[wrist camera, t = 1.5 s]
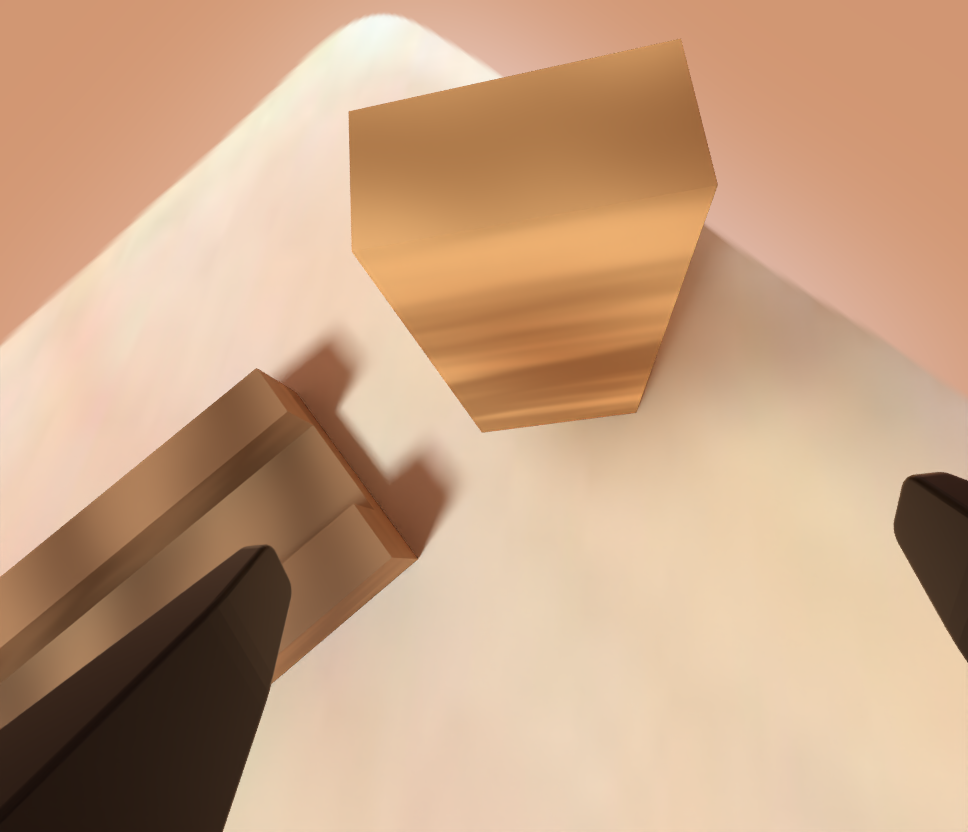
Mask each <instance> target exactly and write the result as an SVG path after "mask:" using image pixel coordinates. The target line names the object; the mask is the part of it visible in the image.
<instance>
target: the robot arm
mask: <svg viewBox="0 0 968 832" xmlns="http://www.w3.org/2000/svg"><path fill="white" fill-rule="evenodd" d="M894 533H895V536H896V539H897V541H898V544H899V545H900V547H901V549H902V551H903V552H904V554H905V556H906V558H907V560H908V561H909V563H910V565H911V567H912V569H913V570H914V572H915V574H916V576H917V577H918V579H919V581H920V583H921V585H922V586H923V588H924V590H925V592H926V593H927V595H928V597H929V599H930V601H931V602H932V604H933V606H934V608H935V610H936V611H937V613H938V615H939V617H940V618H941V620H942V622H943V624H944V626H945V627H946V629H947V631H948V632H949V634H950V636H951V637H952V639H953V641H954V642H955V644H956V646H957V647H958V649H959V650H960V652H961V653H962V655H963V656H964V658H965V659H966V661H967V662H968V481H967V480H965V479H962V478H959V477H957V476H954V475H951V474H948V473H944V472H935V473H925V474H916V475H911V476H909V477H907V478H906V479H905V481H904V482H903V485H902V488H901V493H900V497H899V501H898V506H897V510H896V515H895V519H894ZM291 595H292V588H291V583H290V580H289V578H288V576H287V574H286V572H285V569H284V567H283V565H282V563H281V561H280V559H279V557H278V555H277V553H276V551H275V549H274V548H273V547H272V546H270V545H267V544H262V545H253V546H246V547H243V548H241V549H239V550H238V551H237V552H235V553H234V554H233V555H231V556H230V557H229V558H227V559H226V560H225V561H223V562H222V563H221V564H219V565H218V566H217V567H215V568H214V569H213V570H211V571H210V572H209V573H207V574H206V575H205V576H203V577H202V578H201V579H199V580H198V581H197V582H195V583H194V584H193V585H191V586H190V587H189V588H187V589H186V590H185V591H183V592H182V593H181V594H179V595H178V596H177V597H175V598H174V599H173V600H171V601H170V602H169V603H167V604H166V605H165V606H163V607H162V608H161V609H159V610H158V611H157V612H155V613H154V614H153V615H151V616H150V617H149V618H147V619H146V620H145V621H143V622H142V623H141V624H139V625H138V626H137V627H135V628H134V629H133V630H131V631H130V632H129V633H127V634H126V635H125V636H123V637H122V638H121V639H119V640H118V641H117V642H115V643H114V644H113V645H111V646H110V647H109V648H107V649H106V650H105V651H103V652H102V653H101V654H99V655H98V656H97V657H95V658H94V659H93V660H91V661H90V662H89V663H88V664H86V665H85V666H84V667H82V668H81V669H80V670H78V671H77V672H76V673H74V674H73V675H72V676H70V677H69V678H68V679H66V680H65V681H64V682H62V683H61V684H60V685H58V686H57V687H56V688H54V689H53V690H52V691H50V692H49V693H48V694H46V695H45V696H44V697H42V698H41V699H40V700H38V701H37V702H36V703H34V704H33V705H32V706H30V707H29V708H28V709H26V710H25V711H24V712H22V713H21V714H20V715H18V716H17V717H16V718H14V719H13V720H12V721H10V722H9V723H8V724H6V725H5V726H4V727H2V728H1V729H0V832H223V829H224V826H225V824H226V821H227V818H228V815H229V812H230V809H231V806H232V803H233V800H234V797H235V794H236V791H237V788H238V785H239V782H240V779H241V776H242V773H243V770H244V767H245V764H246V761H247V758H248V755H249V752H250V749H251V746H252V743H253V740H254V737H255V734H256V731H257V728H258V725H259V722H260V719H261V716H262V713H263V710H264V707H265V704H266V701H267V697H268V694H269V691H270V687H271V683H272V679H273V675H274V671H275V667H276V662H277V658H278V653H279V649H280V645H281V640H282V636H283V632H284V627H285V623H286V618H287V614H288V610H289V605H290V601H291Z"/></svg>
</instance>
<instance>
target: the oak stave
mask: <svg viewBox="0 0 968 832" xmlns="http://www.w3.org/2000/svg"><path fill="white" fill-rule="evenodd" d="M349 149H350V192H351V236H352V252H353V254H354V255H355V257H356V258H357V259H358V261H359V262H360V264H361V265H362V266H363V268H364V269H365V271H366V272H367V273H368V275H369V276H370V277H371V279H372V280H373V282H374V283H375V284H376V286H377V287H378V289H379V290H380V291H381V293H382V294H383V296H384V297H385V298H386V300H387V301H388V302H389V304H390V305H391V307H392V308H393V309H394V311H395V312H396V314H397V315H398V316H399V318H400V319H401V321H402V322H403V323H404V325H405V326H406V328H407V329H408V330H409V332H410V333H411V334H412V336H413V337H414V339H415V340H416V341H417V343H418V344H419V346H420V347H421V348H422V350H423V351H424V353H425V354H426V355H427V357H428V358H429V360H430V361H431V362H432V364H433V365H434V366H435V368H436V369H437V371H438V372H439V373H440V375H441V376H442V378H443V379H444V380H445V382H446V383H447V385H448V386H449V387H450V389H451V390H452V392H453V393H454V394H455V396H456V397H457V398H458V400H459V401H460V403H461V404H462V405H463V407H464V408H465V410H466V411H467V412H468V414H469V415H470V417H471V418H472V419H473V421H474V422H475V424H476V425H477V426H478V428H479V429H480V430H481V432H490V431H498V430H506V429H513V428H521V427H529V426H536V425H544V424H552V423H559V422H567V421H575V420H582V419H590V418H598V417H606V416H613V415H621V414H629V413H636V411H637V409H638V406H639V403H640V400H641V397H642V395H643V392H644V389H645V386H646V383H647V381H648V378H649V375H650V372H651V370H652V367H653V364H654V361H655V358H656V356H657V353H658V350H659V347H660V344H661V342H662V339H663V336H664V333H665V331H666V328H667V325H668V322H669V319H670V317H671V314H672V311H673V308H674V305H675V303H676V300H677V297H678V294H679V292H680V289H681V286H682V283H683V280H684V278H685V275H686V272H687V269H688V266H689V264H690V261H691V258H692V255H693V253H694V250H695V247H696V244H697V241H698V239H699V236H700V233H701V230H702V227H703V225H704V222H705V219H706V216H707V213H708V211H709V208H710V205H711V202H712V200H713V197H714V194H715V191H716V188H717V185H718V184H717V180H716V176H715V172H714V168H713V164H712V160H711V156H710V152H709V148H708V144H707V140H706V136H705V132H704V128H703V125H702V120H701V116H700V112H699V109H698V105H697V101H696V97H695V93H694V89H693V85H692V81H691V77H690V73H689V69H688V65H687V61H686V57H685V53H684V49H683V45H682V41H681V39H677V40H673V41H668V42H663V43H659V44H654V45H650V46H645V47H641V48H636V49H631V50H627V51H622V52H618V53H613V54H609V55H604V56H600V57H595V58H590V59H586V60H581V61H577V62H572V63H568V64H563V65H558V66H554V67H550V68H545V69H540V70H536V71H531V72H527V73H522V74H517V75H513V76H508V77H504V78H499V79H495V80H490V81H485V82H481V83H476V84H472V85H467V86H463V87H458V88H454V89H449V90H444V91H440V92H435V93H431V94H426V95H422V96H417V97H412V98H408V99H403V100H399V101H394V102H390V103H385V104H381V105H376V106H371V107H367V108H362V109H358V110H353V111H349Z"/></svg>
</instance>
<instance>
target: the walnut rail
mask: <svg viewBox="0 0 968 832" xmlns="http://www.w3.org/2000/svg"><path fill="white" fill-rule="evenodd" d="M262 544H267V545H270V546H272V547H273V548H274V549H275V551H276V553H277V555H278V557H279V559H280V561H281V563H282V565H283V567H284V569H285V572H286V574H287V576H288V578H289V580H290V583H291V588H292V595H291V601H290V605H289V610H288V614H287V618H286V623H285V627H284V632H283V636H282V640H281V645H280V649H279V653H278V658H277V662H276V667H275V671H274V675H273V679H272V683H273V682H274V681H275V680H277V679H278V678H279V677H280V676H281V675H282V674H284V673H285V672H286V671H287V670H288V669H289V668H291V667H292V666H293V665H294V664H295V663H297V662H298V661H299V660H300V659H301V658H302V657H304V656H305V655H306V654H307V653H308V652H309V651H311V650H312V649H313V648H314V647H315V646H316V645H318V644H319V643H320V642H321V641H322V640H324V639H325V638H326V637H327V636H328V635H329V634H331V633H332V632H333V631H334V630H335V629H336V628H338V627H339V626H340V625H341V624H342V623H344V622H345V621H346V620H347V619H348V618H349V617H351V616H352V615H353V614H354V613H355V612H356V611H358V610H359V609H360V608H361V607H362V606H364V605H365V604H366V603H367V602H368V601H369V600H371V599H372V598H373V597H374V596H375V595H376V594H378V593H379V592H380V591H381V590H382V589H383V588H385V587H386V586H387V585H388V584H389V583H391V582H392V581H393V580H394V579H395V578H396V577H398V576H399V575H400V574H401V573H402V572H403V571H405V570H406V569H407V568H408V567H409V566H411V565H412V564H413V563H414V562H415V561H416V560H418V559H417V557H416V556H415V555H414V553H413V552H412V551H411V549H410V548H409V546H408V545H407V544H406V542H405V541H404V540H403V538H402V537H401V536H400V534H399V533H398V531H397V530H396V529H395V527H394V526H393V525H392V523H391V522H390V520H389V519H388V518H387V516H386V515H385V514H384V512H383V511H382V510H381V508H380V507H379V505H378V504H377V503H376V501H375V500H374V499H373V497H372V496H371V494H370V493H369V492H368V490H367V489H366V488H365V486H364V485H363V484H362V482H361V481H360V479H359V478H358V477H357V475H356V474H355V473H354V471H353V470H352V468H351V467H350V466H349V464H348V463H347V462H346V460H345V459H344V458H343V456H342V455H341V453H340V452H339V451H338V449H337V448H336V447H335V445H334V444H333V442H332V441H331V440H330V438H329V437H328V436H327V434H326V433H325V432H324V430H323V429H322V427H321V426H320V425H319V423H318V422H317V421H316V419H315V418H314V417H313V415H312V414H311V412H310V411H309V410H308V408H307V407H306V406H305V404H304V403H303V401H302V400H301V399H300V397H299V396H298V395H297V393H296V392H294V391H293V390H291V389H290V388H288V387H286V386H285V385H283V384H282V383H280V382H278V381H277V380H275V379H274V378H272V377H270V376H269V375H267V374H265V373H264V372H262V371H261V370H259V369H257V368H256V369H255V370H254V371H252V372H251V373H250V374H249V375H247V376H246V377H245V378H244V379H243V380H241V381H240V382H239V383H238V384H236V385H235V386H234V387H233V388H232V389H230V390H229V391H228V392H227V393H225V394H224V395H223V396H222V397H220V398H219V399H218V400H217V401H216V402H214V403H213V404H212V405H211V406H209V407H208V408H207V409H206V410H205V411H203V412H202V413H201V414H200V415H198V416H197V417H196V418H195V419H194V420H192V421H191V422H190V423H189V424H187V425H186V426H185V427H184V428H182V429H181V430H180V431H179V432H178V433H176V434H175V435H174V436H173V437H171V438H170V439H169V440H168V441H167V442H165V443H164V444H163V445H162V446H160V447H159V448H158V449H157V450H156V451H154V452H153V453H152V454H151V455H149V456H148V457H147V458H146V459H144V460H143V461H142V462H141V463H140V464H138V465H137V466H136V467H135V468H133V469H132V470H131V471H130V472H129V473H127V474H126V475H125V476H124V477H122V478H121V479H120V480H119V481H117V482H116V483H115V484H114V485H113V486H111V487H110V488H109V489H108V490H106V491H105V492H104V493H103V494H102V495H100V496H99V497H98V498H97V499H95V500H94V501H93V502H92V503H91V504H89V505H88V506H87V507H86V508H84V509H83V510H82V511H81V512H79V513H78V514H77V515H76V516H75V517H73V518H72V519H71V520H70V521H68V522H67V523H66V524H65V525H64V526H62V527H61V528H60V529H59V530H57V531H56V532H55V533H54V534H53V535H51V536H50V537H49V538H48V539H46V540H45V541H44V542H43V543H41V544H40V545H39V546H38V547H37V548H35V549H34V550H33V551H32V552H30V553H29V554H28V555H27V556H26V557H24V558H23V559H22V560H21V561H19V562H18V563H17V564H16V565H15V566H13V567H12V568H11V569H10V570H8V571H7V572H6V573H5V574H3V575H2V576H1V577H0V729H1V728H2V727H4V726H5V725H6V724H8V723H9V722H10V721H12V720H13V719H14V718H16V717H17V716H18V715H20V714H21V713H22V712H24V711H25V710H26V709H28V708H29V707H30V706H32V705H33V704H34V703H36V702H37V701H38V700H40V699H41V698H42V697H44V696H45V695H46V694H48V693H49V692H50V691H52V690H53V689H54V688H56V687H57V686H58V685H60V684H61V683H62V682H64V681H65V680H66V679H68V678H69V677H70V676H72V675H73V674H74V673H76V672H77V671H78V670H80V669H81V668H82V667H84V666H85V665H86V664H88V663H89V662H90V661H91V660H93V659H94V658H95V657H97V656H98V655H99V654H101V653H102V652H103V651H105V650H106V649H107V648H109V647H110V646H111V645H113V644H114V643H115V642H117V641H118V640H119V639H121V638H122V637H123V636H125V635H126V634H127V633H129V632H130V631H131V630H133V629H134V628H135V627H137V626H138V625H139V624H141V623H142V622H143V621H145V620H146V619H147V618H149V617H150V616H151V615H153V614H154V613H155V612H157V611H158V610H159V609H161V608H162V607H163V606H165V605H166V604H167V603H169V602H170V601H171V600H173V599H174V598H175V597H177V596H178V595H179V594H181V593H182V592H183V591H185V590H186V589H187V588H189V587H190V586H191V585H193V584H194V583H195V582H197V581H198V580H199V579H201V578H202V577H203V576H205V575H206V574H207V573H209V572H210V571H211V570H213V569H214V568H215V567H217V566H218V565H219V564H221V563H222V562H223V561H225V560H226V559H227V558H229V557H230V556H231V555H233V554H234V553H235V552H237V551H238V550H239V549H241V548H243V547H246V546H253V545H262ZM272 683H271V684H272Z"/></svg>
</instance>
